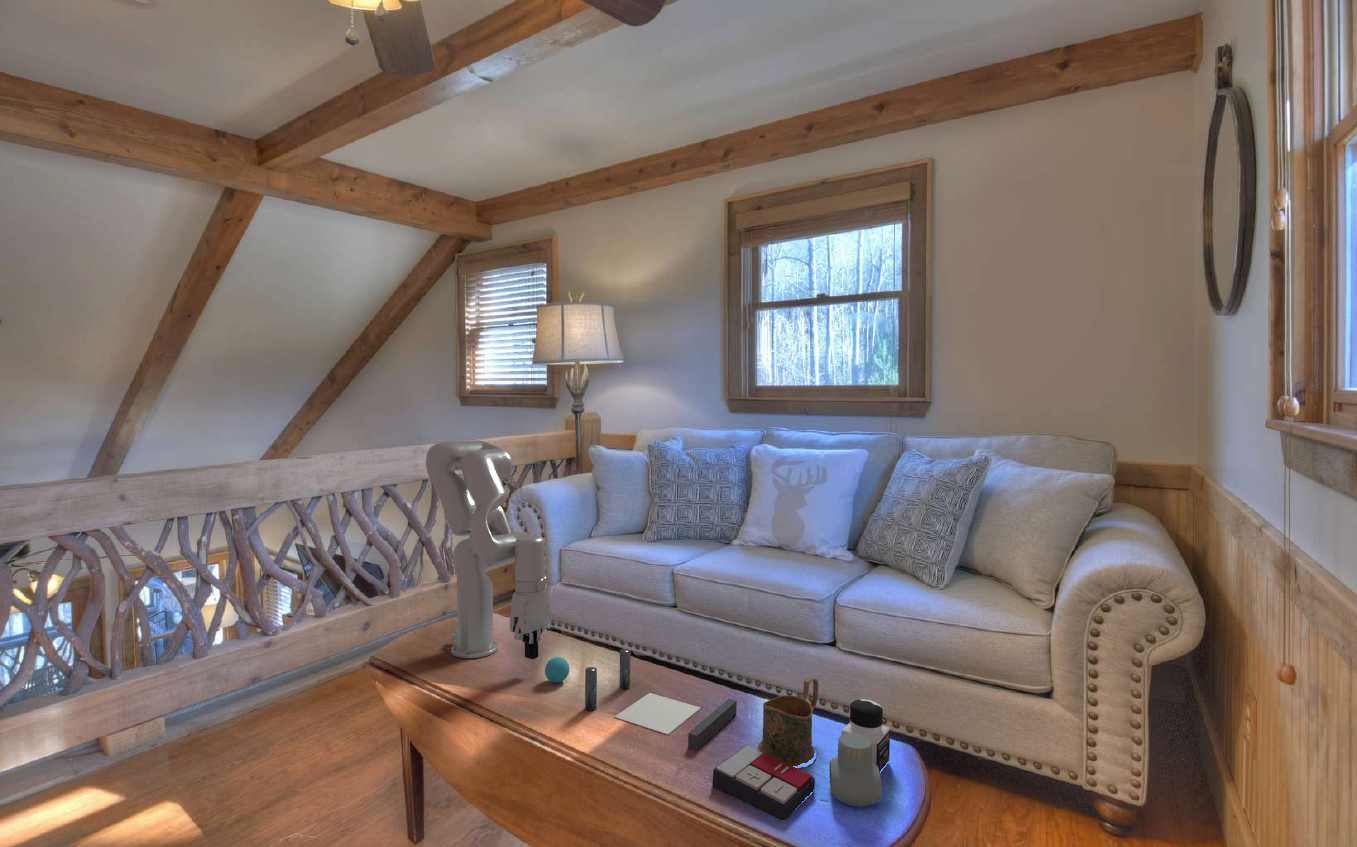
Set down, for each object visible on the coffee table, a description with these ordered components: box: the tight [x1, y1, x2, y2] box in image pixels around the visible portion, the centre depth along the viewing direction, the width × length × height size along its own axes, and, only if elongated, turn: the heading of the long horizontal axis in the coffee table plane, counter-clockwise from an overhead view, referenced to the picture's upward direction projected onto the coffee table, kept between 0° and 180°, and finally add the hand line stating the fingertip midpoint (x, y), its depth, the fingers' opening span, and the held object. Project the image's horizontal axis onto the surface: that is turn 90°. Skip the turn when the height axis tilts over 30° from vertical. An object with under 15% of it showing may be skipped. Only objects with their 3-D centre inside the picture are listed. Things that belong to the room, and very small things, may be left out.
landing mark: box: [613, 692, 702, 736], centre depth 143 cm, size 14×14×1 cm
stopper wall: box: [687, 698, 738, 751], centre depth 136 cm, size 2×18×3 cm, turn 149°
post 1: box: [584, 666, 598, 712], centre depth 145 cm, size 3×3×9 cm
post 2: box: [619, 648, 632, 691], centre depth 156 cm, size 3×3×9 cm
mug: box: [757, 677, 819, 766], centre depth 129 cm, size 12×18×12 cm, turn 140°
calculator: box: [711, 745, 816, 821], centre depth 115 cm, size 11×4×15 cm
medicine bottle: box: [840, 698, 891, 772], centre depth 123 cm, size 7×7×12 cm
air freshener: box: [829, 733, 883, 807], centre depth 113 cm, size 11×8×10 cm
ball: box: [544, 656, 570, 684], centre depth 159 cm, size 6×6×6 cm
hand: (531, 657), depth 163 cm, fingers closed
